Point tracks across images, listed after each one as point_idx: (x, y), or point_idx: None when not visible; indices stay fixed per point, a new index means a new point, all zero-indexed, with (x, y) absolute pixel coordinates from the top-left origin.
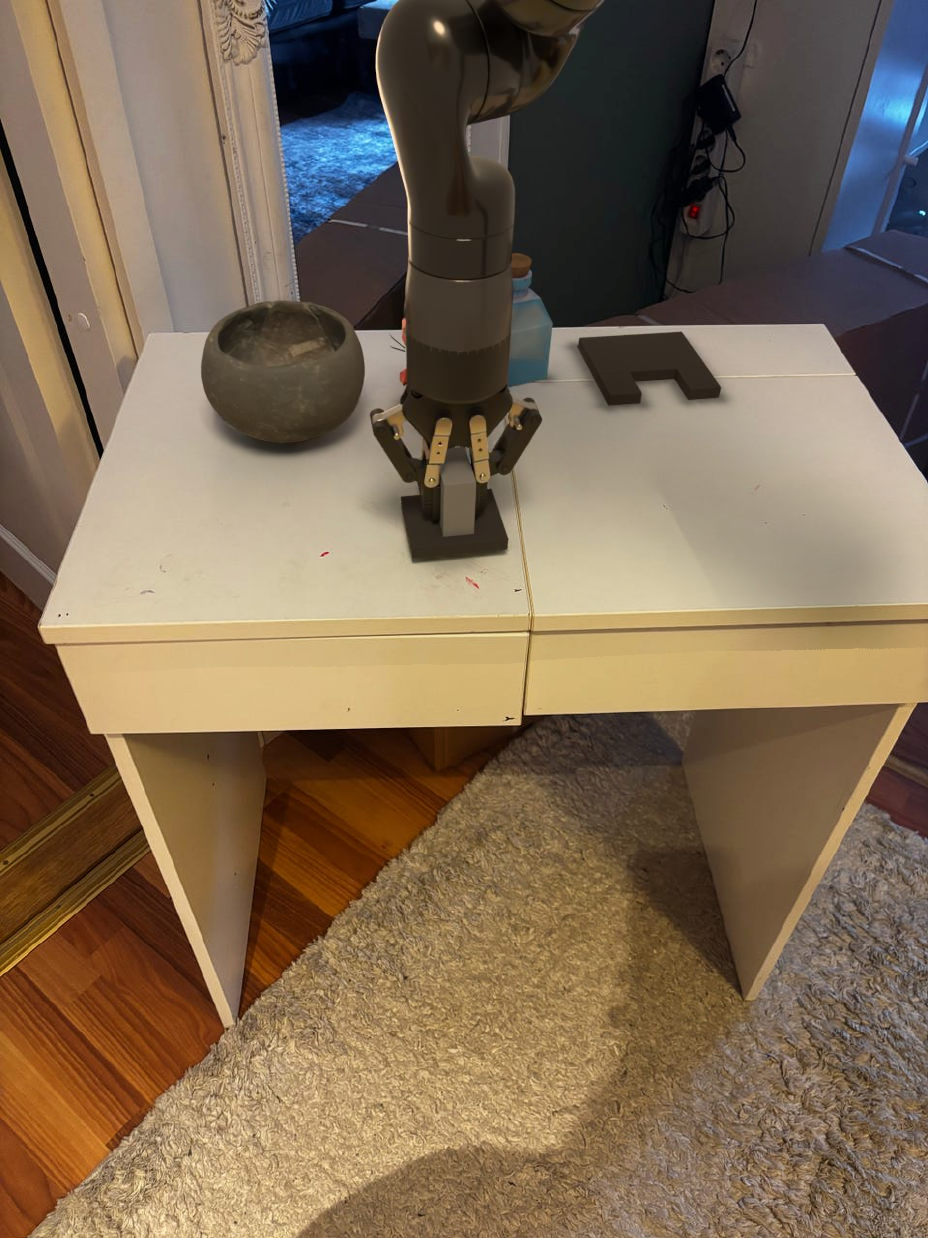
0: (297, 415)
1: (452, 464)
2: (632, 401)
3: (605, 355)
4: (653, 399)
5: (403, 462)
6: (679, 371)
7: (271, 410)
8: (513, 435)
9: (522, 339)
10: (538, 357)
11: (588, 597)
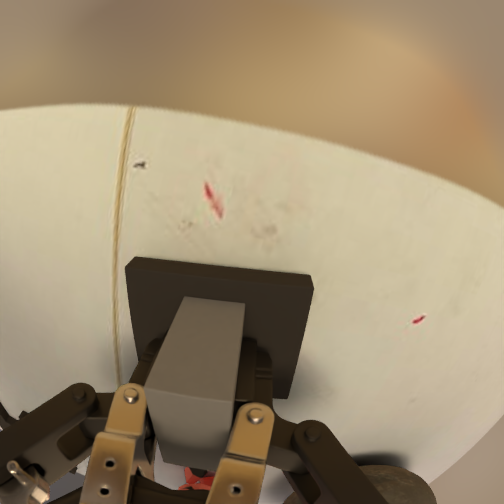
0: None
1: (195, 441)
2: (26, 414)
3: None
4: (15, 408)
5: (331, 470)
6: (2, 418)
7: (407, 500)
8: (38, 455)
9: None
10: None
11: (50, 135)
